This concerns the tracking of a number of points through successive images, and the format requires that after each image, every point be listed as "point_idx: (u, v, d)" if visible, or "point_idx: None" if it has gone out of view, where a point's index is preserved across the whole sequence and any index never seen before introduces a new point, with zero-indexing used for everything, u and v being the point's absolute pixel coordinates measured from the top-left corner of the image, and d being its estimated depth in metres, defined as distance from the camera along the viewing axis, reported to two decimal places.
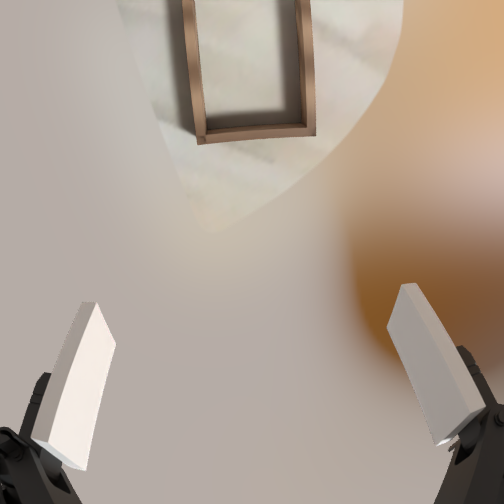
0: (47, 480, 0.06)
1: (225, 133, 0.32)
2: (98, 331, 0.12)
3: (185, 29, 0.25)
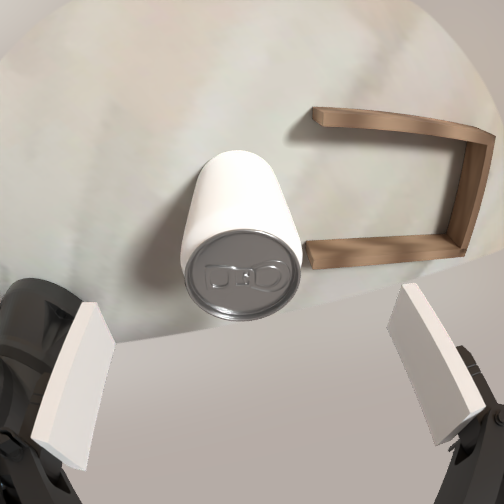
0: (47, 480, 0.06)
1: (466, 230, 0.25)
2: (98, 331, 0.12)
3: (355, 265, 0.26)
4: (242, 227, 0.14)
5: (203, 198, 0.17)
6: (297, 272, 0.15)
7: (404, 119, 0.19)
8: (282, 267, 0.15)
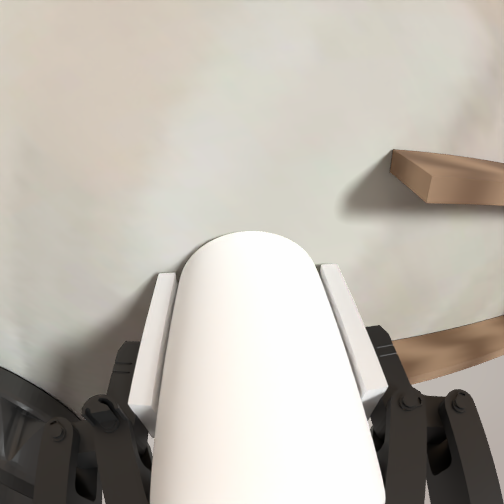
0: (138, 458, 0.07)
1: None
2: None
3: (416, 382, 0.16)
4: None
5: (182, 417, 0.07)
6: None
7: None
8: None
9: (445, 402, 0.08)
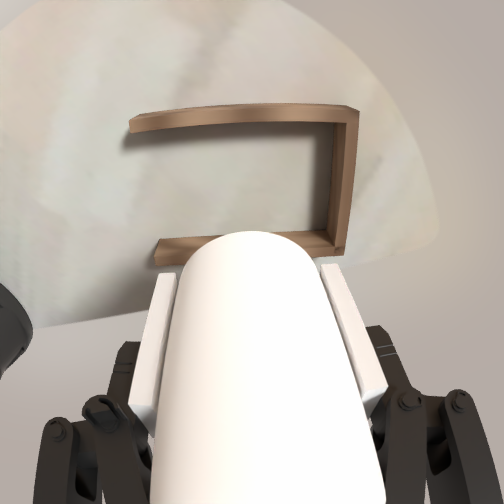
0: (138, 458, 0.07)
1: (337, 224, 0.26)
2: None
3: None
4: None
5: (182, 417, 0.07)
6: None
7: (215, 110, 0.20)
8: None
9: (445, 402, 0.08)
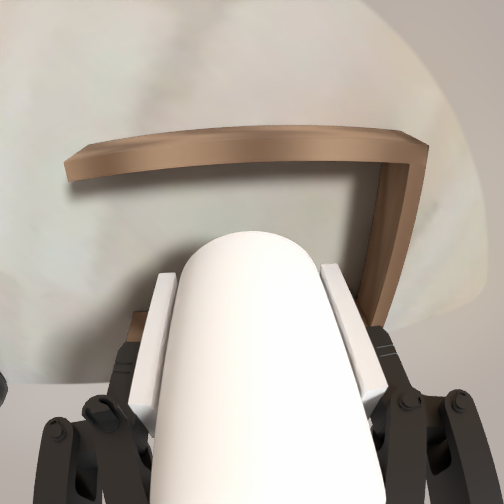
0: (138, 458, 0.07)
1: (378, 302, 0.18)
2: None
3: None
4: None
5: (182, 418, 0.07)
6: None
7: (200, 142, 0.12)
8: None
9: (445, 402, 0.08)
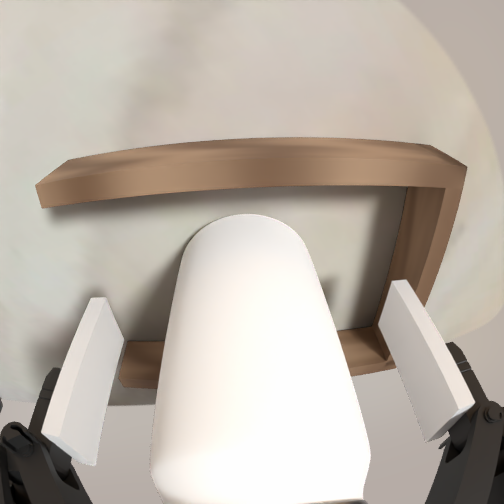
0: (57, 476, 0.06)
1: None
2: (107, 326, 0.12)
3: None
4: (271, 501, 0.05)
5: (182, 368, 0.08)
6: None
7: (196, 162, 0.10)
8: None
9: None
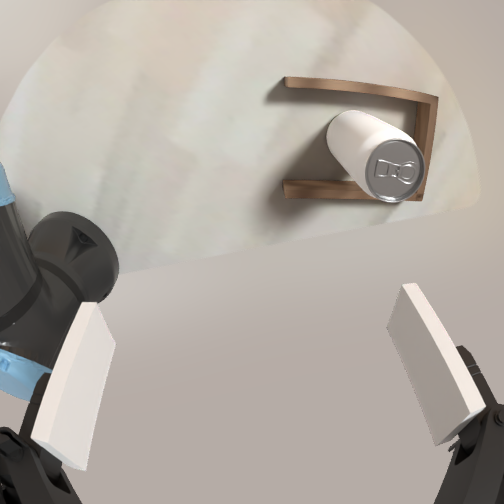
0: (47, 480, 0.06)
1: None
2: (98, 331, 0.12)
3: (320, 197, 0.33)
4: (400, 138, 0.21)
5: (362, 127, 0.24)
6: (423, 171, 0.22)
7: (351, 82, 0.26)
8: (415, 167, 0.23)
9: None
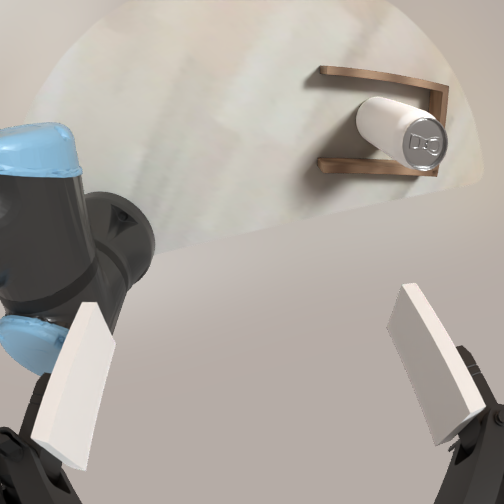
0: (47, 480, 0.06)
1: None
2: (98, 331, 0.12)
3: (353, 172, 0.36)
4: (428, 117, 0.24)
5: (394, 109, 0.27)
6: (446, 144, 0.25)
7: (379, 72, 0.29)
8: (440, 141, 0.25)
9: None
